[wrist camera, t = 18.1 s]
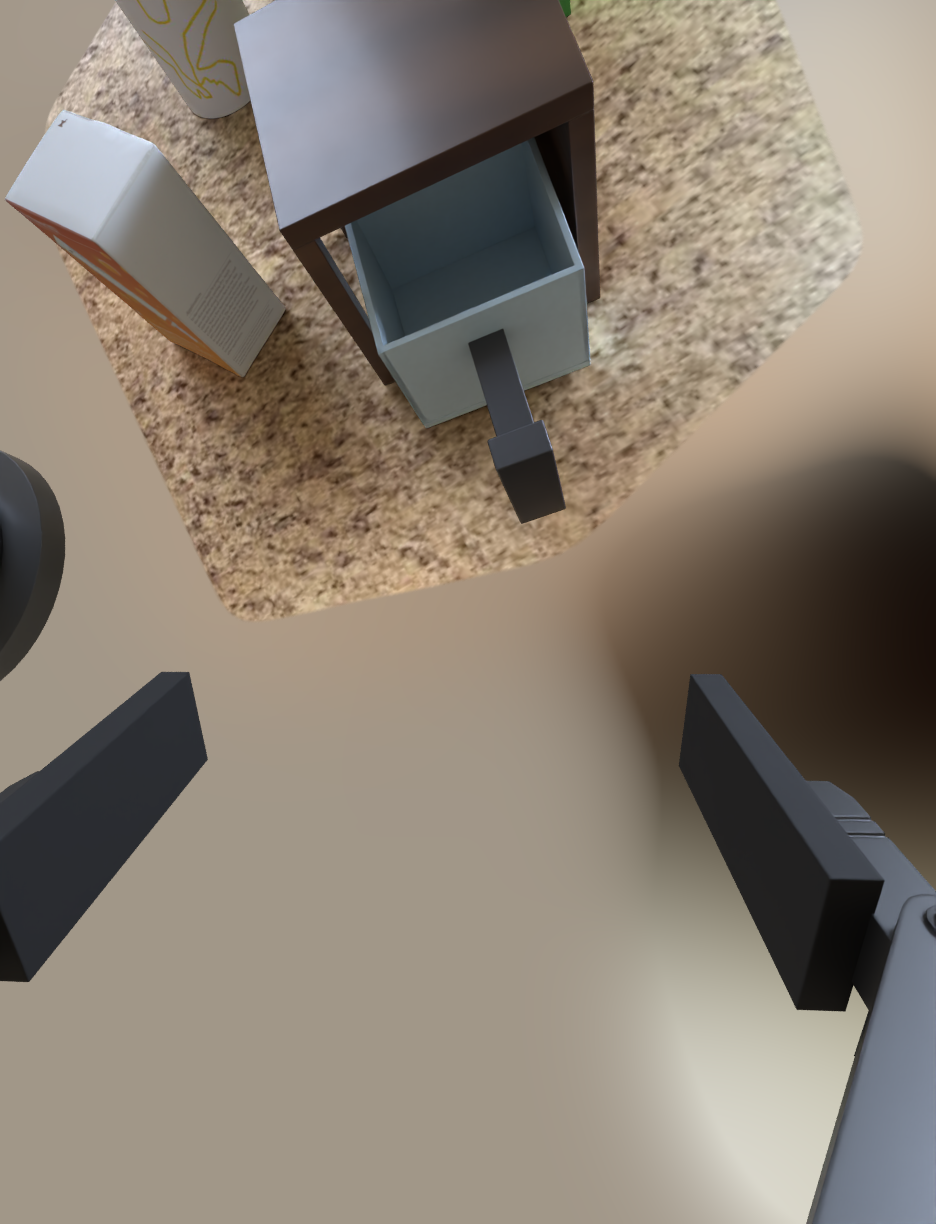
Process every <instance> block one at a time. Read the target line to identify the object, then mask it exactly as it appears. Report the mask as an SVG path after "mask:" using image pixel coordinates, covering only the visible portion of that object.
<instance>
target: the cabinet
mask: <svg viewBox="0 0 936 1224" xmlns="http://www.w3.org/2000/svg"><path fill="white" fill-rule="evenodd" d="M234 29H235V33H236V38H237V42H238V47H239V51H240V56H241V60H242V65H243V69H244V74H245V78H246V83H247V87H248V91H249V96H250V100H251V105H252V109H253V114H254V118H255V123H256V127H257V132H258V136H259V141H260V145H261V150H262V154H263V158H264V163H265V167H266V172H267V176H268V181H269V185H270V190H271V194H272V199H273V203H274V208H275V212H276V216H277V221H278V225H279V230H280V232H281V233H282V235H283V236H284V238H285V239H286V241H287V242H288V244H289V245H290V247H291V248H292V249H293V251H294V252H295V254H296V255H297V257H298V258H299V260H300V261H301V263H302V264H303V266H304V267H305V269H306V270H307V272H308V273H309V275H310V276H311V277H312V279H313V280H314V282H315V283H316V285H317V286H318V288H319V289H320V291H321V292H322V294H323V295H324V297H325V298H326V300H327V301H328V302H329V304H330V305H331V307H332V308H333V310H334V311H335V313H336V314H337V316H338V317H339V319H340V320H341V322H342V323H343V325H344V326H345V328H346V329H347V330H348V332H349V333H350V335H351V336H352V338H353V339H354V341H355V342H356V344H357V345H358V347H359V348H360V350H361V351H362V353H363V354H364V355H365V357H366V358H367V360H368V361H369V363H370V364H371V366H372V367H373V369H374V370H375V372H376V373H377V375H378V376H379V378H380V379H381V380H382V382H383V383H384V385H387V384H390V383H392V382H395V380H394V378H393V376H392V375H391V373H390V372H389V370H388V369H387V367H386V366H385V364H384V362H383V361H382V359H381V358H380V356H379V355H378V351H377V348H376V344H375V340H374V336H373V332H372V328H371V324H370V321H369V318H368V316H367V315H366V313H365V311H364V310H363V308H362V306H361V305H360V303H359V301H358V300H357V298H356V296H355V295H354V293H353V291H352V290H351V288H350V287H349V285H348V283H347V282H346V280H345V278H344V277H343V275H342V273H341V272H340V270H339V268H338V267H337V265H336V263H335V262H334V260H333V259H332V257H331V255H330V254H329V252H328V250H327V249H326V247H325V245H324V244H323V242H322V240H321V239H320V237H322V236H324V235H326V234H328V233H330V232H333V231H335V230H337V229H339V228H341V229H342V231H343V233H344V234H345V236H346V238H348V236H347V232H346V228H345V225H348V224H350V223H352V222H354V221H356V220H358V219H360V218H362V217H365V216H367V215H369V214H371V213H373V212H375V211H377V210H380V209H382V208H384V207H386V206H388V205H390V204H392V203H395V202H397V201H399V200H401V199H403V198H405V197H407V196H409V195H412V194H414V193H416V192H418V191H420V190H422V189H424V188H427V187H429V186H431V185H433V184H435V183H437V182H439V181H442V180H444V179H446V178H448V177H450V176H452V175H454V174H457V173H459V172H461V171H463V170H465V169H467V168H469V167H471V166H474V165H476V164H478V163H480V162H482V161H484V160H486V159H489V158H491V157H493V156H495V155H497V154H499V153H501V152H504V151H506V150H508V149H510V148H512V147H514V146H516V145H518V144H521V143H523V142H525V141H527V140H529V139H531V138H533V137H534V138H535V140H536V143H537V145H538V148H539V151H540V153H541V156H542V159H543V161H544V164H545V166H546V169H547V172H548V174H549V177H550V179H551V182H552V185H553V187H554V190H555V193H556V195H557V198H558V200H559V203H560V206H561V208H562V211H563V214H564V216H565V219H566V221H567V224H568V227H569V229H570V232H571V234H572V237H573V240H574V242H575V245H576V248H577V250H578V253H579V255H580V258H581V261H582V263H583V266H584V271H585V286H586V302H587V303H589V302H591V301H594V300H596V299H599V298H600V277H599V245H598V214H597V183H596V152H595V120H594V88H593V79H592V77H591V75H590V72H589V70H588V68H587V65H586V63H585V61H584V58H583V56H582V54H581V51H580V49H579V47H578V44H577V42H576V40H575V37H574V35H573V33H572V30H571V28H570V26H569V23H568V21H567V19H566V16H565V14H564V12H563V9H562V7H561V5H560V2H559V0H276V1H274V2H272V3H270V4H268V5H267V6H265V7H263V8H261V9H260V10H258V11H256V12H254V13H252V14H251V15H249V16H247V17H245V18H243V19H242V20H240V21H238V22H236V23H235V24H234Z"/></svg>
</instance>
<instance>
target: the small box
mask: <svg viewBox="0 0 936 1224" xmlns="http://www.w3.org/2000/svg"><path fill="white" fill-rule="evenodd" d="M5 200H6V201H7V202H8V203H9V204H10V205H11V206H13V207H14V208H15V209H16V210H17V211H19V212H20V213H21V214H22V215H24V216H25V217H26V218H27V219H28V220H29V221H31V222H32V223H33V224H34V225H35V226H36V227H38V228H39V229H40V230H41V231H42V232H44V233H45V234H46V235H47V236H48V237H49V238H51V239H52V240H53V241H54V242H55V243H56V244H58V245H59V246H60V247H61V248H62V249H63V250H64V251H66V252H67V253H68V254H69V255H70V256H71V257H73V258H74V259H75V260H76V261H77V262H78V263H80V264H81V265H82V266H83V267H84V268H85V269H87V270H88V271H89V272H90V273H91V274H92V275H94V276H95V277H96V278H97V279H98V280H99V281H101V282H102V283H103V284H104V285H105V286H107V287H108V288H109V289H110V290H111V291H112V292H114V293H115V294H116V295H117V296H118V297H119V298H121V299H122V300H123V301H124V302H125V303H127V304H128V305H129V306H130V307H131V308H132V309H133V310H135V311H136V312H137V313H138V314H139V315H140V316H141V317H142V318H144V319H145V320H146V321H147V322H148V323H149V324H151V325H152V326H153V327H154V328H155V329H156V330H158V331H159V332H160V333H161V334H162V335H163V336H165V337H166V338H167V339H168V340H169V341H171V342H173V343H175V344H177V345H180V346H182V347H184V348H186V349H188V350H190V351H192V352H194V353H196V354H198V355H200V356H202V357H204V358H206V359H208V360H210V361H212V362H214V363H215V364H217V365H219V366H221V367H223V368H225V369H227V370H229V371H230V372H232V373H234V374H236V375H238V376H239V377H244V376H245V374H246V373H247V371H248V369H249V368H250V366H251V364H252V363H253V361H254V360H255V358H256V356H257V355H258V353H259V351H260V350H261V348H262V347H263V345H264V344H265V342H266V340H267V339H268V337H269V336H270V334H271V333H272V331H273V329H274V328H275V326H276V325H277V323H278V321H279V319H280V318H281V316H282V315H283V313H284V311H285V306H284V305H283V304H282V302H281V301H280V300H279V299H278V297H277V296H276V295H275V294H274V293H273V291H272V290H271V289H270V288H269V286H268V285H267V284H266V283H265V281H264V280H263V279H262V278H261V276H260V275H259V274H258V273H257V272H256V270H255V269H254V268H253V267H252V265H251V264H250V263H249V262H248V260H247V259H246V258H245V257H244V255H243V254H242V253H241V251H240V250H239V249H238V248H237V246H236V245H235V244H234V243H233V241H232V240H231V239H230V237H229V236H228V235H227V234H226V233H225V231H224V230H223V229H222V228H221V226H220V225H219V224H218V223H217V221H216V220H215V219H214V218H213V216H212V215H211V214H210V213H209V211H208V210H207V209H206V208H205V206H204V205H203V204H202V203H201V201H200V200H199V199H198V198H197V196H196V195H195V194H194V193H193V192H192V190H191V189H190V188H189V187H188V185H187V184H186V183H185V181H184V180H183V179H182V178H181V176H180V175H179V174H178V173H177V171H176V170H175V169H174V168H173V166H172V165H171V164H170V163H169V162H168V160H167V159H166V158H165V157H164V155H163V154H162V153H161V152H160V150H159V149H158V148H157V147H156V145H155V144H153V143H152V142H149V141H147V140H145V139H142V138H139V137H137V136H135V135H132V134H129V133H127V132H124V131H122V130H119V129H117V128H115V127H113V126H111V125H109V124H106V123H104V122H100V121H96V120H91V119H89V118H86V117H83V116H80V115H77V114H74V113H71V112H69V111H66V110H63V111H62V112H61V113H60V114H59V115H58V116H57V118H56V119H55V120H54V122H53V123H52V125H51V126H50V128H49V129H48V130H47V132H46V133H45V135H44V137H43V138H42V140H41V141H40V143H39V144H38V146H37V147H36V149H35V151H34V152H33V154H32V155H31V157H30V158H29V160H28V162H27V163H26V165H25V166H24V168H23V170H22V171H21V173H20V174H19V176H18V178H17V179H16V181H15V183H14V184H13V186H12V187H11V189H10V191H9V193H8V194H7V196H6V198H5Z"/></svg>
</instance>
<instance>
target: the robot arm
mask: <svg viewBox="0 0 936 1224" xmlns="http://www.w3.org/2000/svg"><path fill="white" fill-rule="evenodd" d="M2 553H3V539H2V530H1V525H0V568H1V562H2ZM207 760H208V759H207V754H206V749H205V744H204V740H203V735H202V730H201V726H200V721H199V716H198V712H197V707H196V702H195V697H194V693H193V688H192V683H191V679H190V674H189V672H161V673H160V674H158V675H157V676H156V677H155V678H153V679H152V680H151V681H150V682H148V683H147V684H146V685H145V686H144V687H142V688H141V689H140V690H139V691H137V692H136V693H135V694H134V695H133V696H131V698H129V699H128V700H126V701H125V702H124V703H123V704H122V705H120V706H119V707H118V708H117V709H116V710H114V711H113V712H112V713H111V714H109V715H108V716H107V717H106V718H104V719H103V720H102V721H101V722H99V723H98V724H97V725H96V726H95V727H94V728H92V729H91V730H90V731H89V732H87V733H86V734H85V735H84V736H82V737H81V738H80V739H79V740H78V741H76V742H75V743H74V744H73V745H71V746H70V747H69V748H68V749H67V750H65V751H64V752H63V753H62V754H60V755H59V756H58V757H57V758H56V759H54V760H53V761H52V762H50V764H48V765H47V766H46V767H44V768H43V769H42V770H41V771H37V772H35V773H33V774H31V775H29V776H27V777H26V778H24V779H22V780H20V781H18V782H16V783H14V784H12V785H11V786H9V787H8V788H6V789H5V790H4V791H3V792H1V793H0V981H16V982H29V981H30V980H31V979H32V978H33V976H34V975H35V974H36V973H37V971H38V970H39V969H40V967H41V966H42V965H43V964H44V963H45V961H46V960H47V959H48V958H49V956H50V955H51V954H52V953H53V951H54V950H55V949H56V948H57V946H58V945H59V944H60V943H61V941H62V940H63V939H64V938H65V936H66V935H67V934H68V933H69V932H70V930H71V929H72V928H73V927H74V925H75V924H76V923H77V922H78V920H79V919H80V918H81V917H82V915H83V914H84V913H85V911H86V910H87V909H88V908H89V907H90V905H91V904H92V903H93V902H94V900H95V899H96V898H97V897H98V895H99V894H100V893H101V892H102V890H103V889H104V888H105V887H106V885H107V884H108V883H109V881H111V879H112V878H113V877H114V876H115V874H116V873H117V872H118V871H119V869H120V868H121V867H122V865H123V864H124V863H125V862H126V861H127V859H128V858H129V857H130V855H131V854H132V853H133V852H134V851H135V849H136V848H137V847H138V846H139V844H140V843H141V842H142V841H143V839H144V838H145V837H146V836H147V834H148V833H149V832H150V830H151V829H152V828H153V827H154V826H155V824H156V823H157V822H158V820H160V818H161V817H162V816H163V815H164V813H165V812H166V811H167V809H168V808H169V807H170V806H171V805H172V803H173V802H174V801H175V800H176V798H177V797H178V796H179V794H180V793H181V792H182V791H183V790H184V788H185V787H186V786H187V785H188V783H189V782H190V781H191V780H192V778H193V777H194V776H195V775H196V773H197V772H198V771H199V770H200V768H201V767H202V766H203V765H204V763H205V762H206V761H207ZM679 767H680V769H681V771H682V773H683V775H684V777H685V779H686V781H687V783H688V785H689V788H690V790H691V792H692V794H693V796H694V798H695V800H696V802H697V804H698V806H699V808H700V810H701V812H702V815H703V817H704V819H705V821H706V823H707V825H708V827H709V829H710V831H711V833H712V835H713V837H714V839H715V841H716V844H717V846H718V847H719V850H720V852H721V854H722V856H723V858H724V860H725V862H726V864H727V866H728V868H729V870H730V872H731V875H732V877H733V879H734V881H735V883H736V885H737V887H738V889H739V891H740V893H741V895H742V897H743V899H744V901H745V903H746V905H747V908H748V910H749V912H750V914H751V916H752V918H753V920H754V922H755V924H756V926H757V928H758V930H759V932H760V935H761V936H762V939H763V941H764V943H765V945H766V947H767V949H768V951H769V953H770V955H771V957H772V959H773V961H774V964H775V966H776V968H777V969H778V972H779V974H780V976H781V978H782V980H783V982H784V984H785V986H786V988H787V990H788V992H789V995H790V996H791V998H792V1001H793V1003H794V1005H795V1007H796V1009H797V1010H819V1011H821V1010H822V1011H846V1007H847V1004H848V1001H849V997H850V994H851V991H852V988H853V985H854V986H855V988H856V990H857V991H858V993H859V995H860V996H861V998H862V1000H863V1001H864V1003H865V1005H866V1006H867V1008H868V1010H869V1011H868V1014H867V1017H866V1021H865V1024H864V1027H863V1030H862V1033H861V1036H860V1039H859V1042H858V1045H857V1048H856V1052H855V1055H854V1056H855V1058H854V1061H853V1065H852V1068H851V1072H850V1076H849V1079H848V1082H847V1085H846V1089H845V1092H844V1096H843V1100H842V1103H841V1106H840V1109H839V1113H838V1116H837V1120H836V1123H835V1127H834V1130H833V1134H832V1137H831V1141H830V1144H829V1148H828V1151H827V1154H826V1158H825V1161H824V1164H823V1168H822V1171H821V1175H820V1178H819V1182H818V1185H817V1189H816V1192H815V1195H814V1199H813V1202H812V1206H811V1209H810V1213H809V1216H808V1219H807V1223H806V1224H936V891H935V890H934V889H933V888H932V887H931V885H930V884H929V883H928V882H927V881H926V880H925V879H924V877H923V876H922V875H921V874H920V873H919V872H918V871H917V869H916V868H915V867H914V866H913V865H912V864H911V863H910V862H909V860H908V859H907V858H906V857H905V856H904V855H903V853H902V852H901V851H900V850H899V849H898V848H897V847H896V846H895V844H894V843H893V842H892V841H891V840H890V839H889V838H886V837H885V833H884V832H883V831H882V830H881V828H880V827H879V826H878V825H877V824H876V823H875V822H874V821H871V817H870V816H869V815H868V814H867V813H866V811H865V810H864V809H863V808H862V807H861V806H860V805H859V803H858V802H857V801H856V800H855V799H854V798H853V797H851V796H850V795H848V794H847V793H845V792H844V791H843V790H841V789H840V788H838V787H837V786H835V785H833V784H832V783H831V782H829V781H805V779H804V778H803V777H802V775H801V774H800V773H799V772H798V770H797V769H796V768H795V767H794V765H793V764H792V763H791V762H790V760H789V759H788V758H787V757H786V755H785V754H784V753H783V752H782V750H781V749H780V748H779V747H778V745H777V744H776V743H775V741H774V740H773V739H772V738H771V737H770V735H769V734H768V733H767V731H766V730H765V729H764V728H763V726H762V725H761V724H760V723H759V721H758V720H757V719H756V718H755V716H754V715H753V714H752V712H751V711H750V710H749V709H748V707H747V706H746V705H745V704H744V702H743V701H742V700H741V699H740V698H739V696H738V695H737V694H736V692H735V691H734V690H733V689H732V687H731V686H730V685H729V683H728V682H727V681H726V680H725V678H724V677H723V676H722V675H721V674H720V675H719V674H716V675H715V674H712V675H711V674H709V675H707V674H691V675H690V682H689V690H688V698H687V706H686V714H685V722H684V730H683V738H682V745H681V753H680V762H679Z"/></svg>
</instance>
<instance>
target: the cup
mask: <svg viewBox="0 0 936 1224" xmlns="http://www.w3.org/2000/svg"><path fill="white" fill-rule="evenodd" d="M115 1H116V2H117V4H118V5H119V7H120V8H121V10H122V11H123V12H124V14H125V15H126V17H127V18H128V20H129V21H130V23H131V24H132V25H133V27H134V28H135V30H136V31H137V33H138V34H139V36H140V37H141V39H142V40H143V41H144V43H145V44H146V46H147V47H148V49H149V50H150V52H151V53H152V54H153V56H154V57H155V59H156V60H157V62H158V63H159V65H160V66H161V68H162V69H163V70H164V72H165V73H166V75H167V76H168V78H169V79H170V81H171V82H172V84H173V85H174V86H175V88H176V89H177V91H178V92H179V94H180V95H181V97H182V98H183V99H184V101H185V102H186V104H187V105H188V107H189V108H190V109H191V111H192V112H193V113H195V114H196V115H198V116H200V117H203V118H220V117H224V116H227V115H229V114H231V113H234V112H235V111H237V110H239V109H240V108H242V107H243V106H245V105H246V104H247V103H248V102H249V101H250V96H249V91H248V87H247V83H246V78H245V74H244V69H243V65H242V60H241V56H240V51H239V47H238V42H237V38H236V33H235V29H234V24H235V23H236V22H238V21H240V20H242V19H243V18H245V17H247V16H249V13H248V11H247V9H246V7H245V5H244V3H243V1H242V0H115Z"/></svg>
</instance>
